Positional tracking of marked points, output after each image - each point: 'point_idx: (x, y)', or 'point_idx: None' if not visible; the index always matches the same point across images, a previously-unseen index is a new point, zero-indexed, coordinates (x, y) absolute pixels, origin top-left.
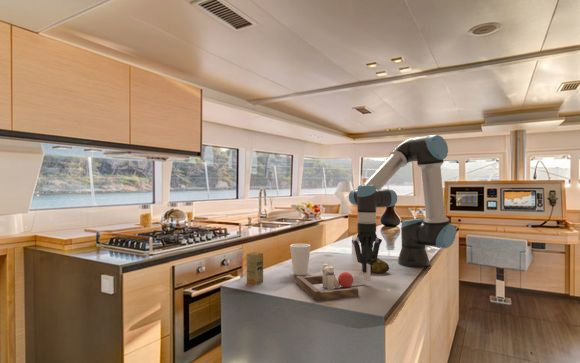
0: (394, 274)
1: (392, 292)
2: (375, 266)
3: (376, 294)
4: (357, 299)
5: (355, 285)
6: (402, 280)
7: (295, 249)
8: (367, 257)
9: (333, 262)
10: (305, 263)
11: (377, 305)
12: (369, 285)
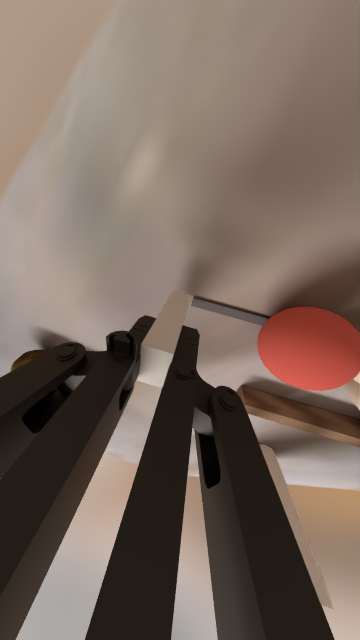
0: (25, 327)
1: (155, 83)
2: None
3: (288, 107)
4: None
5: (236, 315)
6: (14, 261)
7: (324, 585)
8: (112, 431)
9: (130, 441)
10: None
11: None
12: (179, 287)
